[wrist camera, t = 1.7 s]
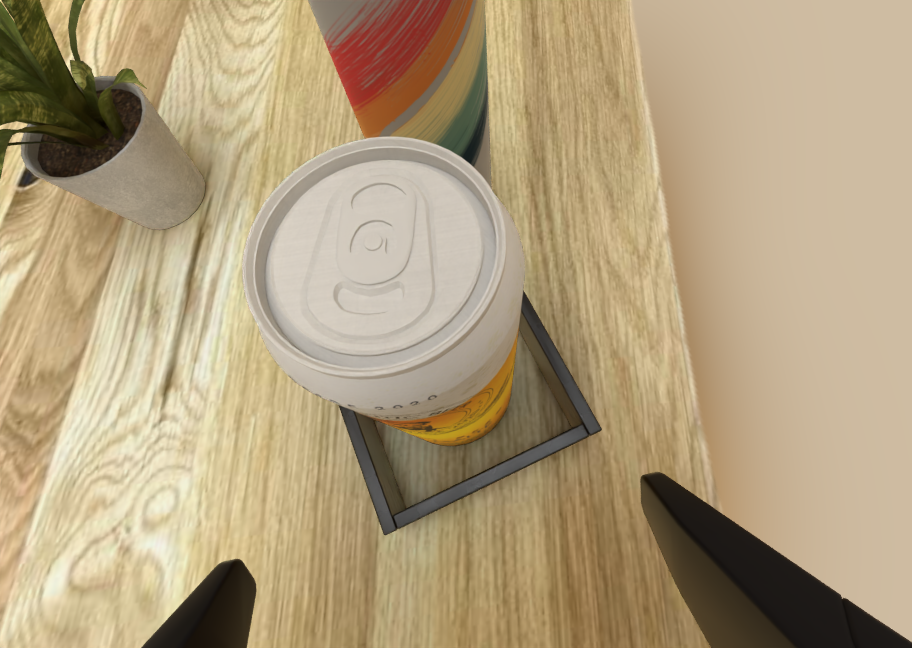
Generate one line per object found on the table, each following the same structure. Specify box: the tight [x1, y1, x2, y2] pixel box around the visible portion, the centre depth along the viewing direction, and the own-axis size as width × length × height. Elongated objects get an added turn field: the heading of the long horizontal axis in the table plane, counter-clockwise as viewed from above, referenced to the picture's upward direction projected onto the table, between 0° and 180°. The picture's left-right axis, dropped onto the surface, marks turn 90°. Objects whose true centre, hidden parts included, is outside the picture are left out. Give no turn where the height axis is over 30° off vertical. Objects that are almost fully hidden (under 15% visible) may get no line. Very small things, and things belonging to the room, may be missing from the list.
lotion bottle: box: [308, 0, 492, 189], centre depth 17 cm, size 6×6×20 cm
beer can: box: [242, 137, 525, 446], centre depth 15 cm, size 6×6×15 cm
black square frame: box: [339, 290, 602, 535], centre depth 21 cm, size 10×10×3 cm
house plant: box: [0, 0, 205, 230], centre depth 21 cm, size 14×14×16 cm
